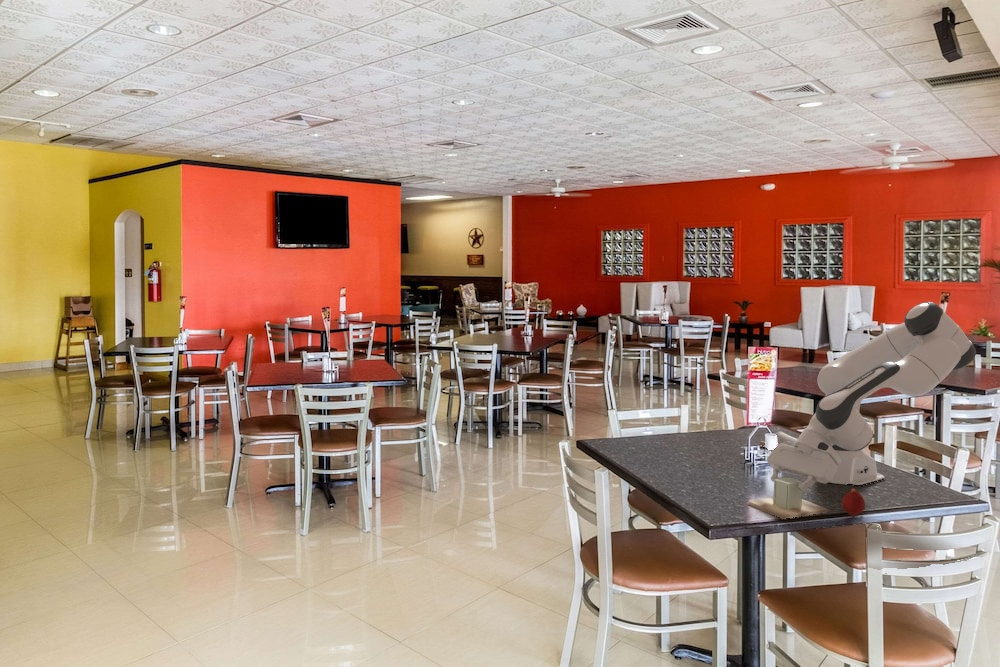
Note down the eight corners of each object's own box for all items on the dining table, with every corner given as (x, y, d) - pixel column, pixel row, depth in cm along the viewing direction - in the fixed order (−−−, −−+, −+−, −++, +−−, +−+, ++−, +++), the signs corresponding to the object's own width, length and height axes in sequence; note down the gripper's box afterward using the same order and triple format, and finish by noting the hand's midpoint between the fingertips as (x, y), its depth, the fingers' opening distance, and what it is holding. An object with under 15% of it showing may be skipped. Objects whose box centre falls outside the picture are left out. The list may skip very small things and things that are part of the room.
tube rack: (782, 443, 290) (782, 438, 290) (838, 461, 264) (839, 456, 264) (759, 446, 286) (760, 441, 286) (815, 464, 260) (815, 458, 260)
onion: (857, 513, 209) (859, 485, 209) (868, 520, 204) (870, 491, 203) (837, 513, 209) (838, 485, 208) (847, 520, 203) (849, 491, 203)
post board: (791, 498, 222) (792, 478, 222) (827, 512, 209) (828, 491, 209) (748, 504, 217) (749, 484, 216) (782, 519, 204) (783, 498, 203)
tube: (827, 450, 263) (787, 432, 288) (814, 447, 262) (775, 429, 287) (823, 464, 264) (783, 445, 288) (810, 461, 263) (771, 443, 287)
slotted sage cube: (786, 501, 217) (787, 476, 216) (801, 506, 212) (802, 481, 211) (773, 503, 214) (774, 479, 213) (788, 509, 209) (789, 484, 209)
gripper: (777, 433, 224) (753, 469, 220) (837, 448, 206) (811, 488, 202) (787, 446, 226) (763, 482, 222) (846, 462, 208) (821, 501, 205)
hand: (786, 485), depth 212 cm, fingers open, 8 cm apart
